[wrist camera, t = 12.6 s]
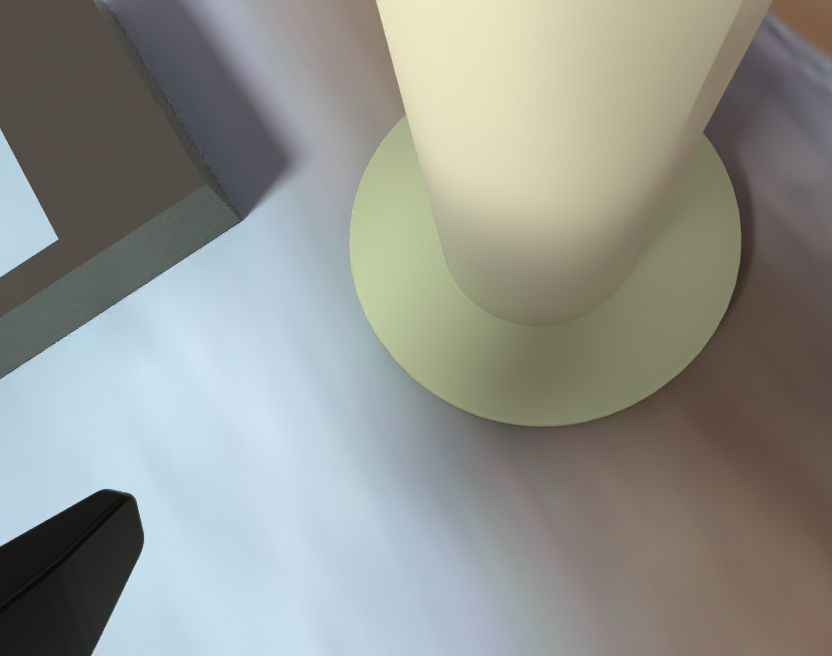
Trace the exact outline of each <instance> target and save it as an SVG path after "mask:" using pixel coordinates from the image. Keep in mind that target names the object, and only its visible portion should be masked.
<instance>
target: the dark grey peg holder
mask: <svg viewBox="0 0 832 656" xmlns="http://www.w3.org/2000/svg"><path fill="white" fill-rule="evenodd" d="M0 129H1V131H2V132H3V134H4V136H5V138H6V140H7V142H8V144H9V146H10V148H11V149H12V151H13V153H14V155H15V157H16V159H17V161H18V163H19V165H20V167H21V168H22V170H23V172H24V174H25V176H26V178H27V180H28V182H29V184H30V186H31V187H32V189H33V191H34V193H35V195H36V197H37V199H38V201H39V203H40V205H41V206H42V208H43V210H44V212H45V214H46V216H47V218H48V220H49V222H50V224H51V225H52V227H53V229H54V231H55V233H56V235H57V237H58V239H59V240H57V241H56V242H54V243H52V244H51V245H49V246H48V247H46V248H45V249H43V250H42V251H40V252H39V253H37V254H36V255H34V256H32V257H31V258H29V259H28V260H26V261H25V262H23V263H22V264H20V265H19V266H17V267H15V268H14V269H12V270H11V271H9V272H8V273H6V274H5V275H3V276H2V277H0V378H2V377H3V376H5V375H6V374H8V373H9V372H11V371H12V370H14V369H15V368H17V367H18V366H20V365H22V364H23V363H25V362H26V361H28V360H29V359H31V358H32V357H34V356H35V355H37V354H38V353H40V352H41V351H43V350H45V349H46V348H48V347H49V346H51V345H52V344H54V343H55V342H57V341H58V340H60V339H61V338H63V337H64V336H66V335H67V334H69V333H71V332H72V331H74V330H75V329H77V328H78V327H80V326H81V325H83V324H84V323H86V322H87V321H89V320H90V319H92V318H93V317H95V316H97V315H98V314H100V313H101V312H103V311H104V310H106V309H107V308H109V307H110V306H112V305H113V304H115V303H116V302H118V301H120V300H121V299H123V298H124V297H126V296H127V295H129V294H130V293H132V292H133V291H135V290H136V289H138V288H139V287H141V286H142V285H144V284H146V283H147V282H149V281H150V280H152V279H153V278H155V277H156V276H158V275H159V274H161V273H162V272H164V271H165V270H167V269H168V268H170V267H172V266H173V265H175V264H176V263H178V262H179V261H181V260H182V259H184V258H185V257H187V256H188V255H190V254H191V253H193V252H195V251H196V250H198V249H199V248H201V247H202V246H204V245H205V244H207V243H208V242H210V241H211V240H213V239H214V238H216V237H217V236H219V235H221V234H222V233H224V232H225V231H227V230H228V229H230V228H231V227H233V226H234V225H236V224H237V223H239V222H240V221H241V219H240V217H239V216H238V214H237V213H236V211H235V209H234V208H233V206H232V204H231V203H230V201H229V200H228V198H227V196H226V195H225V193H224V192H223V190H222V188H221V187H220V185H219V184H218V182H217V180H216V179H215V177H214V176H213V174H212V172H211V171H210V169H209V167H208V166H207V164H206V163H205V161H204V159H203V158H202V156H201V155H200V153H199V151H198V150H197V148H196V147H195V145H194V143H193V142H192V140H191V139H190V137H189V135H188V134H187V132H186V130H185V129H184V127H183V126H182V124H181V122H180V121H179V119H178V118H177V116H176V114H175V113H174V111H173V110H172V108H171V106H170V105H169V103H168V102H167V100H166V98H165V97H164V95H163V93H162V92H161V90H160V89H159V87H158V85H157V84H156V82H155V81H154V79H153V77H152V76H151V74H150V73H149V71H148V69H147V68H146V66H145V65H144V63H143V61H142V60H141V58H140V56H139V55H138V53H137V52H136V50H135V48H134V47H133V45H132V44H131V42H130V40H129V39H128V37H127V36H126V34H125V32H124V31H123V29H122V28H121V26H120V24H119V23H118V21H117V20H116V18H115V16H114V15H113V13H112V11H111V10H110V9H109V7H108V6H107V5H106V4H105V3H104V1H103V0H0Z"/></svg>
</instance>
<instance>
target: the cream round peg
mask: <svg viewBox="0 0 832 656" xmlns="http://www.w3.org/2000/svg"><path fill="white" fill-rule="evenodd" d="M376 1H377V5H378V9H379V13H380V17H381V20H382V24H383V28H384V32H385V35H386V39H387V43H388V47H389V51H390V54H391V58H392V62H393V66H394V69H395V73H396V77H397V81H398V84H399V88H400V92H401V96H402V100H403V103H404V107H405V111H406V115H407V118H408V122H409V126H410V130H411V134H412V137H413V141H414V145H415V149H416V152H417V156H418V160H419V164H420V168H421V171H422V175H423V179H424V183H425V186H426V190H427V194H428V198H429V202H430V205H431V209H432V213H433V217H434V220H435V224H436V228H437V232H438V235H439V239H440V243H441V247H442V251H443V254H444V258H445V261H446V264H447V267H448V269H449V271H450V274H451V276H452V278H453V279H454V281H455V282H456V284H457V286H458V287H459V288H460V289H461V291H462V292H463V293H464V294H465V295H466V296H467V297H468V298H469V299H470V300H471V301H472V302H473V303H474V304H475V305H477V306H478V307H480V308H481V309H483V310H484V311H485V312H487V313H489V314H491V315H493V316H495V317H497V318H500V319H502V320H505V321H508V322H512V323H516V324H521V325H529V326H550V325H556V324H562V323H565V322H569V321H572V320H575V319H577V318H580V317H582V316H584V315H587V314H588V313H590V312H592V311H593V310H595V309H597V308H598V307H599V306H601V305H602V304H603V303H604V302H606V301H607V300H608V299H609V298H610V297H611V296H612V295H613V294H614V293H615V292H616V291H617V289H618V288H619V287H620V285H621V284H622V282H623V281H624V279H625V278H626V276H627V274H628V272H629V270H630V268H631V266H632V264H633V263H634V261H635V259H636V257H637V255H638V253H639V251H640V249H641V248H642V246H643V244H644V242H645V240H646V238H647V236H648V234H649V233H650V231H651V229H652V227H653V225H654V223H655V221H656V219H657V218H658V216H659V214H660V212H661V210H662V208H663V206H664V204H665V203H666V201H667V199H668V197H669V195H670V193H671V191H672V189H673V188H674V186H675V184H676V182H677V180H678V178H679V176H680V174H681V173H682V171H683V169H684V167H685V165H686V163H687V161H688V159H689V158H690V156H691V154H692V152H693V150H694V148H695V146H696V145H697V143H698V141H699V139H700V137H701V135H702V133H703V131H704V130H705V128H706V126H707V124H708V122H709V120H710V118H711V116H712V115H713V113H714V111H715V109H716V107H717V105H718V103H719V101H720V100H721V98H722V96H723V94H724V92H725V90H726V88H727V86H728V85H729V83H730V81H731V79H732V77H733V75H734V73H735V71H736V70H737V68H738V66H739V64H740V62H741V60H742V58H743V56H744V55H745V53H746V51H747V49H748V47H749V45H750V43H751V41H752V40H753V38H754V36H755V34H756V32H757V30H758V28H759V26H760V25H761V23H762V21H763V19H764V17H765V15H766V13H767V12H768V10H769V8H770V6H771V4H772V2H773V0H376Z"/></svg>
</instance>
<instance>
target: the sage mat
mask: <svg viewBox="0 0 832 656" xmlns="http://www.w3.org/2000/svg"><path fill="white" fill-rule="evenodd" d="M349 250H350V261H351V271H352V275H353V279H354V283H355V287H356V292H357V295H358V297H359V300H360V302H361V305H362V308H363V310H364V313H365V315H366V317H367V319H368V321H369V322H370V324H371V326H372V328H373V330H374V331H375V333H376V335H377V337H378V338H379V339H380V341H381V342H382V343H383V345H384V346H385V347H386V349H387V350H388V351H389V353H390V354H391V355H392V357H393V358H394V359H395V360H396V361H397V363H398V364H399V365H400V366H401V367H402V368H403V369H404V370H405V371H406V372H407V373H408V374H409V375H410V376H411V377H412V378H413V379H414V380H415V381H416V382H418V383H419V384H420V385H422V386H423V387H424V388H426V389H427V390H428V391H429V392H431V393H432V394H433V395H435V396H437V397H438V398H440V399H442V400H443V401H445V402H447V403H449V404H450V405H452V406H454V407H456V408H458V409H460V410H463V411H465V412H468V413H470V414H473V415H475V416H477V417H480V418H484V419H488V420H492V421H495V422H499V423H503V424H510V425H517V426H525V427H559V426H567V425H575V424H581V423H585V422H589V421H593V420H597V419H600V418H604V417H607V416H609V415H612V414H614V413H617V412H619V411H622V410H624V409H626V408H629V407H631V406H632V405H634V404H636V403H638V402H639V401H641V400H643V399H645V398H646V397H648V396H650V395H651V394H653V393H654V392H656V391H657V390H658V389H660V388H661V387H662V386H664V385H665V384H666V383H667V382H669V381H670V380H671V379H673V378H674V377H675V376H676V375H678V374H679V373H680V372H681V371H682V370H683V369H684V368H685V367H686V366H687V365H688V364H689V363H690V362H691V361H692V360H693V359H694V358H695V357H696V356H697V355H698V354H699V353H700V352H701V350H702V349H703V347H704V346H705V345H706V343H707V342H708V341H709V339H710V338H711V336H712V335H713V334H714V332H715V331H716V329H717V327H718V325H719V323H720V321H721V319H722V317H723V316H724V314H725V312H726V310H727V307H728V305H729V302H730V299H731V296H732V293H733V291H734V288H735V285H736V280H737V275H738V270H739V265H740V256H741V226H740V215H739V209H738V205H737V201H736V197H735V193H734V189H733V186H732V183H731V181H730V178H729V176H728V173H727V171H726V168H725V166H724V164H723V162H722V160H721V159H720V157H719V155H718V154H717V152H716V150H715V148H714V147H713V145H712V143H711V142H710V141H709V140H708V138H707V137H706V136H705V134H704V133H702V135H701V137H700V139H699V141H698V143H697V145H696V146H695V148H694V150H693V152H692V154H691V156H690V158H689V159H688V161H687V163H686V165H685V167H684V169H683V171H682V173H681V174H680V176H679V178H678V180H677V182H676V184H675V186H674V188H673V189H672V191H671V193H670V195H669V197H668V199H667V201H666V203H665V204H664V206H663V208H662V210H661V212H660V214H659V216H658V218H657V219H656V221H655V223H654V225H653V227H652V229H651V231H650V233H649V234H648V236H647V238H646V240H645V242H644V244H643V246H642V248H641V249H640V251H639V253H638V255H637V257H636V259H635V261H634V263H633V264H632V266H631V268H630V270H629V272H628V274H627V276H626V278H625V279H624V281H623V282H622V284H621V285H620V287H619V288H618V289H617V291H616V292H615V293H614V294H613V295H612V296H611V297H610V298H609V299H608V300H607V301H606V302H604V303H603V304H602V305H601V306H599V307H598V308H597V309H595V310H593V311H592V312H590V313H588V314H587V315H584V316H582V317H580V318H577V319H575V320H572V321H569V322H565V323H562V324H556V325H550V326H529V325H521V324H516V323H512V322H508V321H505V320H502V319H500V318H497V317H495V316H493V315H491V314H489V313H487V312H485V311H484V310H483V309H481V308H480V307H478V306H477V305H475V304H474V303H473V302H472V301H471V300H470V299H469V298H468V297H467V296H466V295H465V294H464V293H463V292H462V291H461V289H460V288H459V287H458V286H457V284H456V282H455V281H454V279H453V278H452V276H451V274H450V271H449V269H448V267H447V264H446V261H445V258H444V254H443V251H442V247H441V243H440V239H439V235H438V232H437V228H436V224H435V220H434V217H433V213H432V209H431V205H430V202H429V198H428V194H427V190H426V186H425V183H424V179H423V175H422V171H421V168H420V164H419V160H418V156H417V152H416V149H415V145H414V141H413V137H412V134H411V130H410V126H409V122H408V118H407V115H405V116H404V117H403V118H402V119H401V120H400V121H399V122H398V123H397V124H396V125H395V126H394V127H393V129H392V130H391V131H390V132H389V133H388V135H387V136H386V137H385V138H384V139H383V141H382V142H381V144H380V146H379V147H378V149H377V150H376V152H375V153H374V155H373V157H372V158H371V160H370V162H369V164H368V166H367V168H366V171H365V173H364V175H363V177H362V179H361V182H360V185H359V188H358V191H357V194H356V197H355V201H354V205H353V211H352V217H351V222H350V240H349Z"/></svg>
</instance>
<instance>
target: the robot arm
mask: <svg viewBox="0 0 832 656" xmlns="http://www.w3.org/2000/svg"><path fill="white" fill-rule="evenodd" d="M143 544H144V532H143V528H142V523H141V519H140V514H139V510H138V506H137V502H136V499H135V497H134V496H133V495H132V494H129V493H126V492H121V491H116V490H112V489H103V490H100V491H98V492H96V493H94V494H92V495H90V496H89V497H87V498H85V499H83V500H82V501H80V502H78V503H76V504H75V505H73V506H71V507H69V508H67V509H66V510H64V511H62V512H60V513H59V514H57V515H55V516H53V517H52V518H50V519H48V520H46V521H44V522H43V523H41V524H39V525H37V526H36V527H34V528H32V529H30V530H29V531H27V532H25V533H23V534H22V535H20V536H18V537H16V538H14V539H13V540H11V541H9V542H7V543H6V544H4V545H2V546H0V656H91V655H92V653H93V651H94V649H95V647H96V645H97V643H98V641H99V639H100V637H101V635H102V633H103V631H104V629H105V627H106V625H107V623H108V620H109V618H110V616H111V614H112V612H113V610H114V608H115V606H116V604H117V602H118V600H119V598H120V595H121V593H122V591H123V589H124V587H125V585H126V583H127V581H128V579H129V577H130V575H131V573H132V570H133V568H134V566H135V564H136V562H137V560H138V558H139V556H140V554H141V551H142V548H143Z"/></svg>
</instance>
